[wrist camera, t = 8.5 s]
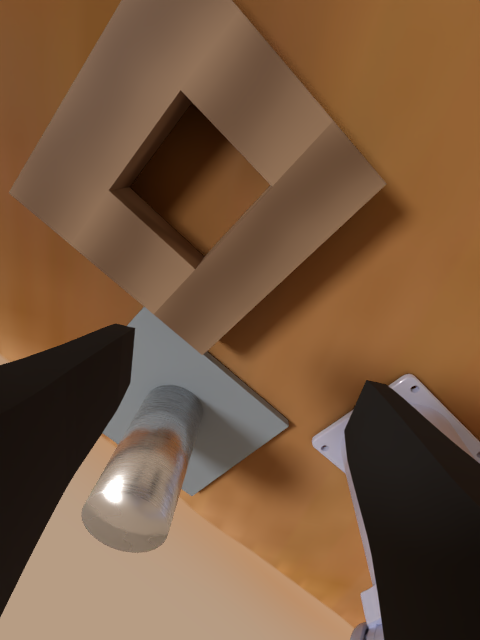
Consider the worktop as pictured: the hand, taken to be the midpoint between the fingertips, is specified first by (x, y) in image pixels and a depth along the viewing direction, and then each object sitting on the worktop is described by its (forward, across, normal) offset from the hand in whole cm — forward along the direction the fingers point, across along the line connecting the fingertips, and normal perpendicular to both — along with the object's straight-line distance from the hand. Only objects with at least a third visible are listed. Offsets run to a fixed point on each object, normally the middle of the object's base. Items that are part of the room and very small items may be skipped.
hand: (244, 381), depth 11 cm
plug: (+9, +3, +10) cm, 14 cm away
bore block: (+10, +4, -4) cm, 11 cm away
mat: (+10, +3, +10) cm, 14 cm away
